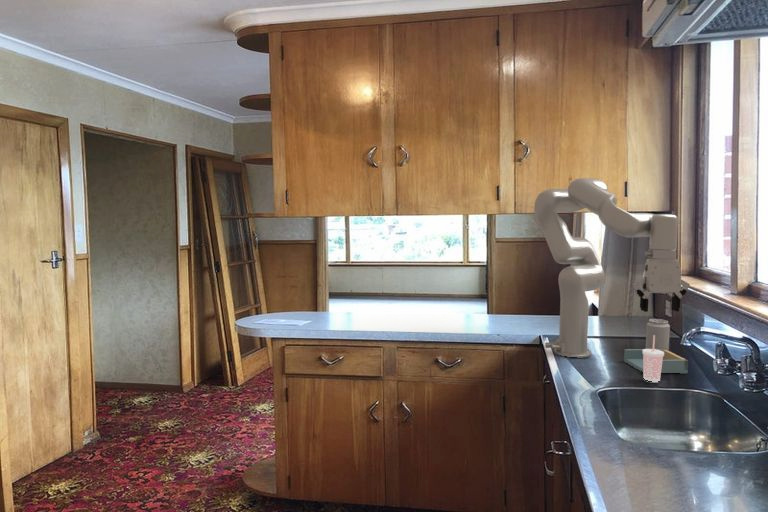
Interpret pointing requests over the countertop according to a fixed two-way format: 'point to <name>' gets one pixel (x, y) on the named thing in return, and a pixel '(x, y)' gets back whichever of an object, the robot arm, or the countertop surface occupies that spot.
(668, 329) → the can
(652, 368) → the beverage cup
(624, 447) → the countertop surface
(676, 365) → the tray
